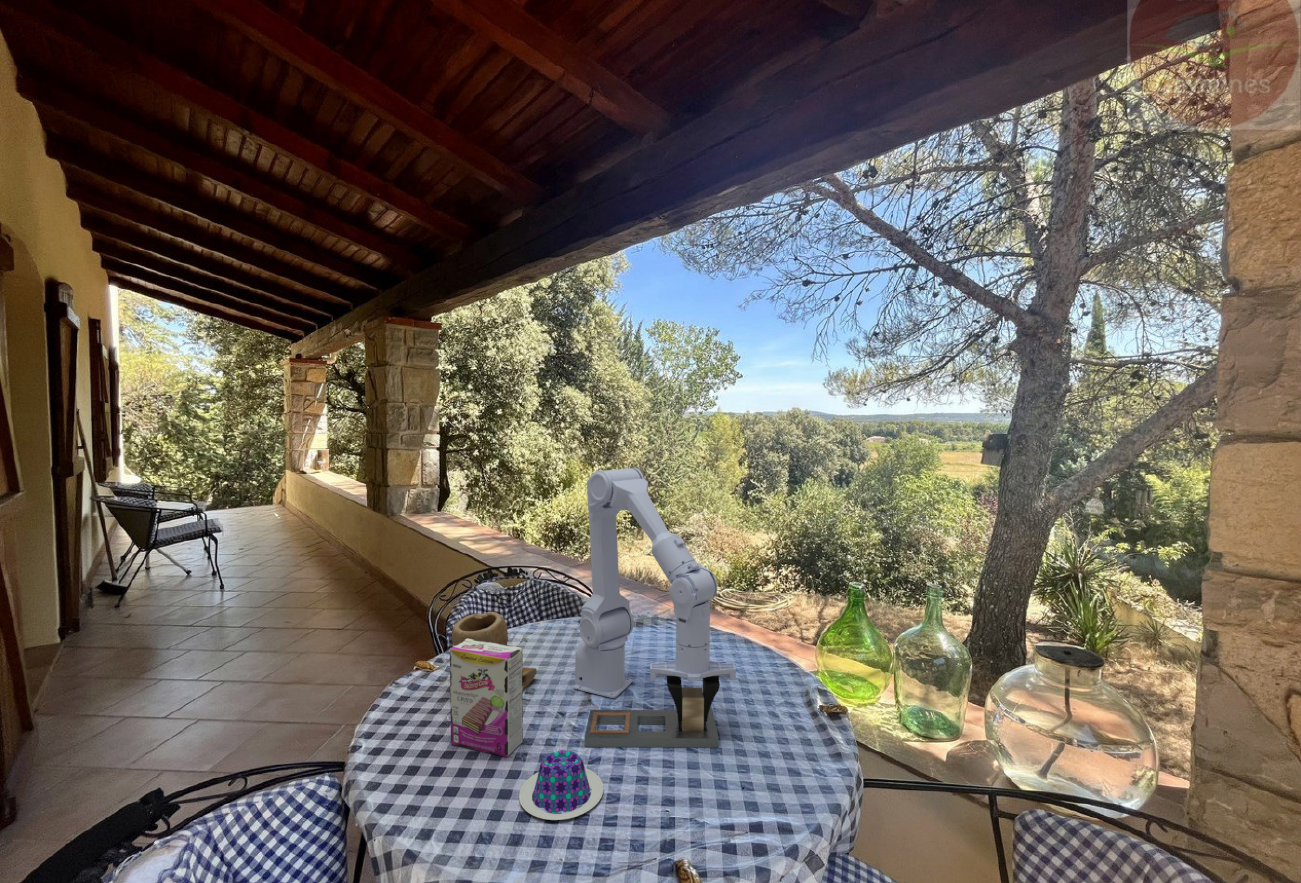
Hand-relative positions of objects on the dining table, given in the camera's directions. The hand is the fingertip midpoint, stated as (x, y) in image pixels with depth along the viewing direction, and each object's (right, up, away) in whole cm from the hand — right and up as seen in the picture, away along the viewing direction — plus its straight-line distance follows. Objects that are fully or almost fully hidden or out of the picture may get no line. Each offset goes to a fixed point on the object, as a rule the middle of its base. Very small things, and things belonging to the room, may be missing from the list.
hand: (692, 718), depth 99 cm
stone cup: (-39, -2, +15) cm, 42 cm away
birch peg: (0, -2, 0) cm, 2 cm away
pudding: (-20, -4, -16) cm, 26 cm away
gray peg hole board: (-7, -2, 0) cm, 7 cm away
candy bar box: (-34, -3, -4) cm, 35 cm away
